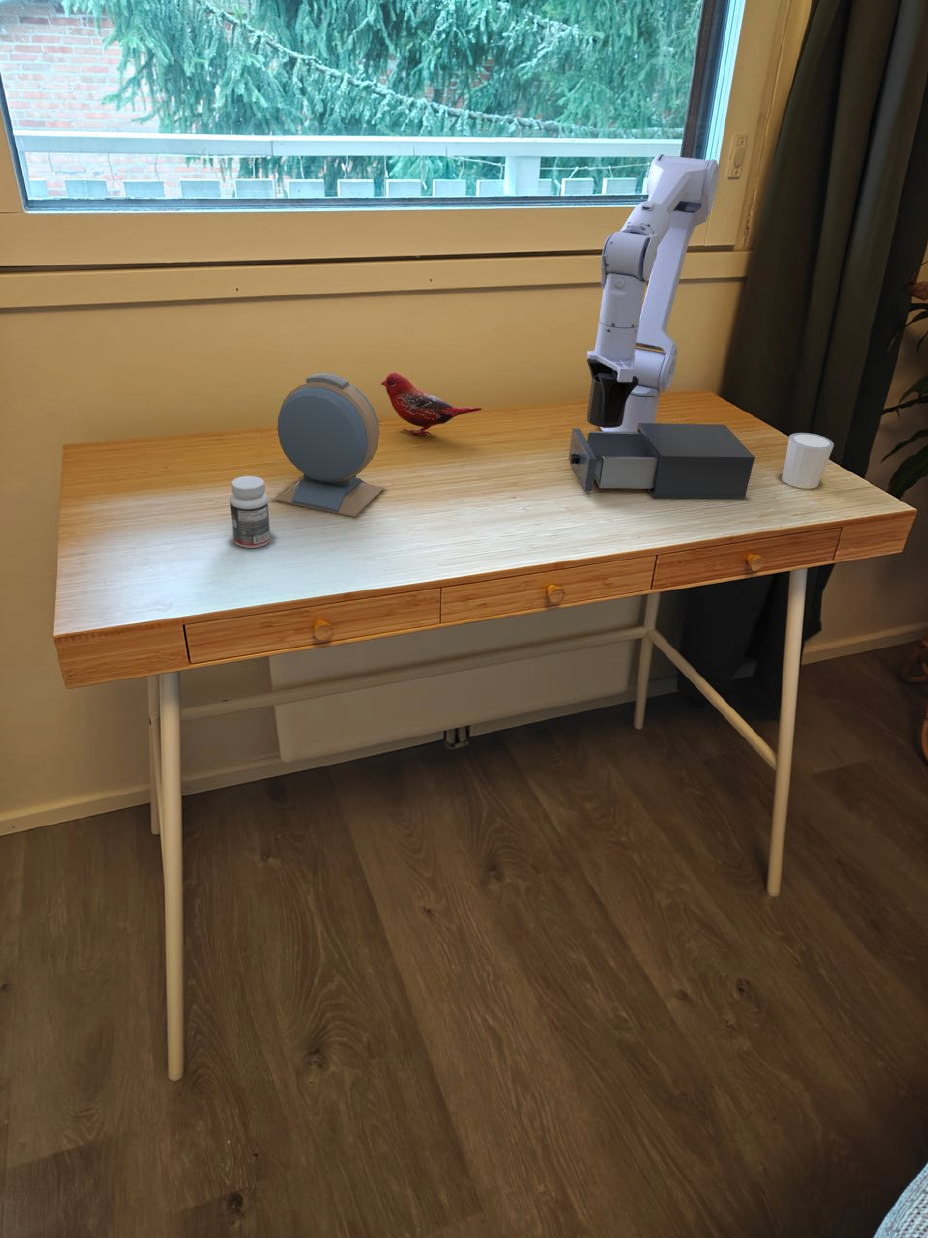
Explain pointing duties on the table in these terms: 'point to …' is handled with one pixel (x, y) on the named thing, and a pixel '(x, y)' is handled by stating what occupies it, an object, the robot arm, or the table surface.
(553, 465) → the table surface
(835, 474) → the table surface
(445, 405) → the decorative bird figurine
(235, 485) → the pill bottle
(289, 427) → the alarm clock
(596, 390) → the dark grey faceted cup
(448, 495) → the table surface
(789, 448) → the white cylinder
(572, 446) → the drawer
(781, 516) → the table surface
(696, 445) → the dark grey cabinet
